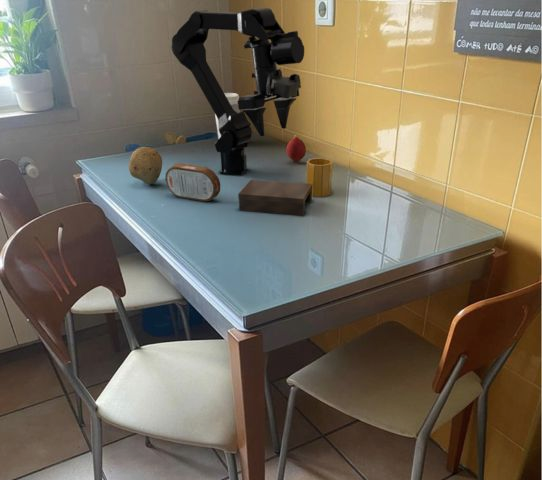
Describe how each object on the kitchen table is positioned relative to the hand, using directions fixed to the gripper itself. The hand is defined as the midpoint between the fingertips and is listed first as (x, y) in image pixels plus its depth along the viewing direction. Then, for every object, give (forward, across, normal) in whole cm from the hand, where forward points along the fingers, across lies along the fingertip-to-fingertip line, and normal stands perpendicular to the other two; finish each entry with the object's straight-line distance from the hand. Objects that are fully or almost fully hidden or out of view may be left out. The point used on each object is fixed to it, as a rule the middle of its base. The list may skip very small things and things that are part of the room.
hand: (273, 132), depth 144 cm
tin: (+11, -24, +9) cm, 28 cm away
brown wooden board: (+14, -15, -11) cm, 24 cm away
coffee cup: (+8, +20, +38) cm, 44 cm away
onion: (+12, +16, +6) cm, 21 cm away
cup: (+15, -1, -14) cm, 21 cm away
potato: (+9, -24, +27) cm, 37 cm away
